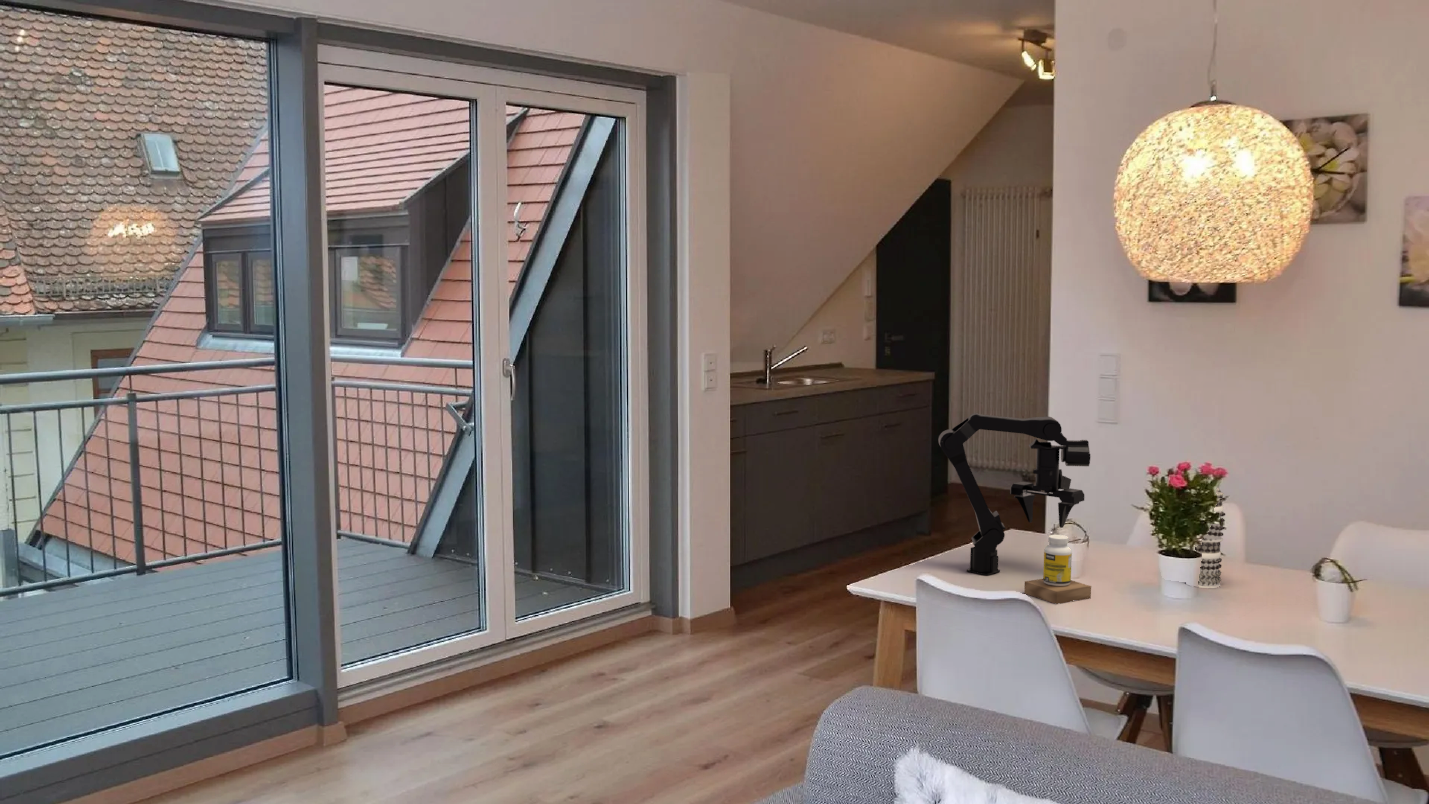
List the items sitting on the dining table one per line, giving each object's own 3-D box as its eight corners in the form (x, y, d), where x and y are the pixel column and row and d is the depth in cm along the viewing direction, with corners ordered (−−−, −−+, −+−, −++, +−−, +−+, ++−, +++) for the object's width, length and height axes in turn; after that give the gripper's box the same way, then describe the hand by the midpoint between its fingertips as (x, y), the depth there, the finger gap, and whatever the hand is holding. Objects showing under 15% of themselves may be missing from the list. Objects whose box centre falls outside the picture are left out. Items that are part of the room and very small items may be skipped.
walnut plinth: (1024, 593, 295) (1024, 581, 294) (1057, 588, 300) (1058, 576, 300) (1056, 604, 285) (1057, 591, 285) (1090, 598, 290) (1091, 586, 290)
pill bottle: (1037, 583, 293) (1039, 536, 291) (1052, 579, 297) (1054, 532, 296) (1061, 588, 288) (1062, 540, 286) (1076, 584, 292) (1077, 537, 291)
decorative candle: (1192, 589, 299) (1196, 489, 297) (1176, 579, 308) (1181, 483, 306) (1228, 588, 299) (1233, 489, 297) (1212, 579, 309) (1216, 483, 306)
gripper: (1096, 466, 310) (1094, 526, 311) (1033, 458, 323) (1031, 515, 325) (1073, 471, 302) (1071, 532, 304) (1009, 462, 316) (1008, 521, 317)
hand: (1045, 524), depth 313 cm, fingers open, 9 cm apart
